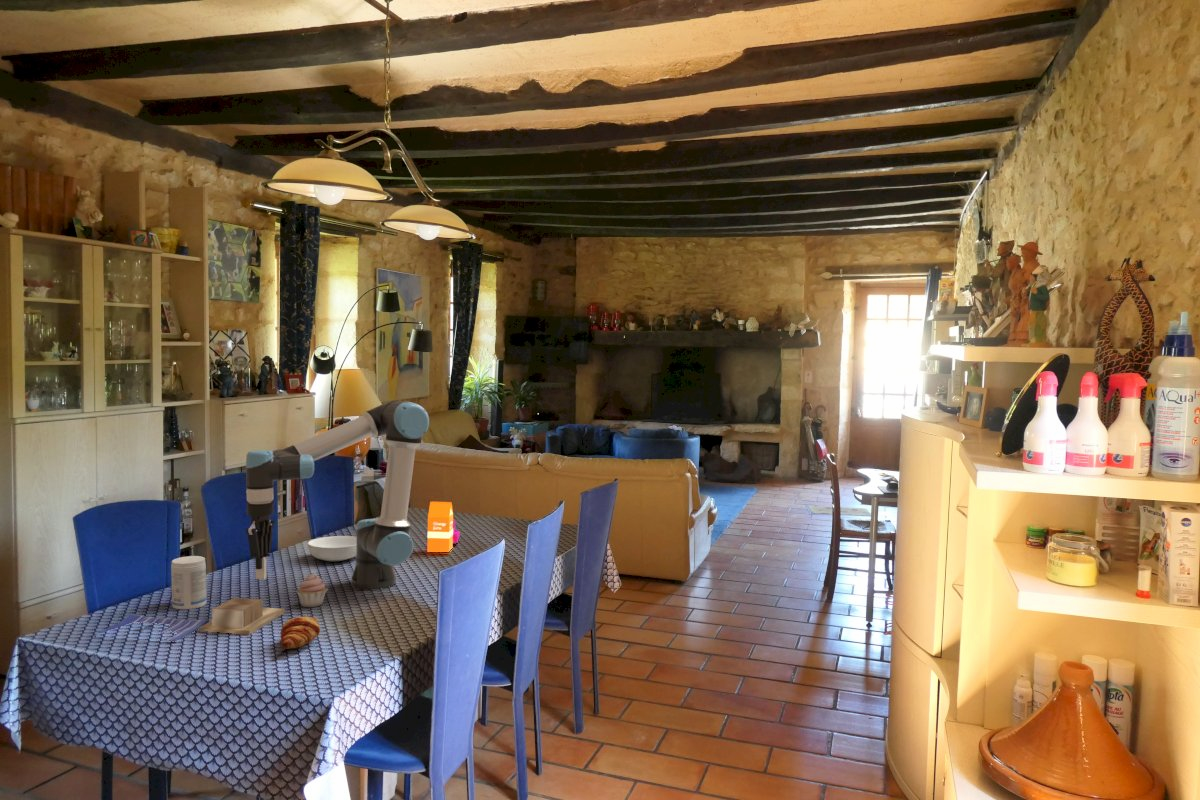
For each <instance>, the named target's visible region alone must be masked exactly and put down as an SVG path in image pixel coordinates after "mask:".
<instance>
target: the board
mask: <svg viewBox="0 0 1200 800" xmlns="http://www.w3.org/2000/svg"><path fill="white" fill-rule="evenodd" d="M285 612H286V611H285V608H276V607H275V608H273V607H263V616H262V617H260V618H259V619H257V620H255V621H254V622H252V623H250V624H249V625H247V626H246V627H244V628H225V627H212V620H210V621H208V622H207V624H205V625H203V626H201V627H199V630H198V632H199V631H208V632H207V633H211V632H220V633H219V634H226V633H232V634H231V635H242V636H245V635H247V636H250V635H252V634H254V633H255V632H257V631H258V630H260V629H261V628H263V627H265V626H266V625H268V624H269V623H271V622H273V621H274V620H276V619H277V618H279V617H280V616H282V615H283V614H285Z"/></svg>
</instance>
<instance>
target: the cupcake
mask: <svg viewBox="0 0 1200 800" xmlns="http://www.w3.org/2000/svg"><path fill="white" fill-rule="evenodd" d="M328 590H329V588H327V587H326V584H325V583H324V581H323V579H322V578H321V577H320V576H318V575H316V574H314V573H311V574H309V575H307V576H306V578H305V580H303V581H302V582H301V583H300V584H299V588H297V590H296V593H297V595H298V598H299V601H300V605H301V606H302V607H304V608H316V607H320V606H321V605H323V603H324V600H325V599H324V598H325V597H326V593H327V591H328Z"/></svg>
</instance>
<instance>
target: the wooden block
mask: <svg viewBox="0 0 1200 800" xmlns="http://www.w3.org/2000/svg"><path fill="white" fill-rule="evenodd" d="M263 601H264V599H261V598H260V599H259V598H245V597H244V598H243V597H232V598H231V599H228V600H227V601H225V602H223V603H221V604H220V605H218V606H216V607H213V608H211V621H212V627H225V628H244V627H246V626H247V625H249V624H250V623H252V622H254V621H255V620H257V619H259V618H260V617H262V616H263V608H264V607H263V604H264V603H263Z"/></svg>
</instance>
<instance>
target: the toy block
mask: <svg viewBox="0 0 1200 800" xmlns="http://www.w3.org/2000/svg"><path fill="white" fill-rule="evenodd" d="M460 534H461V532H460V531H459V530H456V519H453V543H457V542H458V539H459V537H461V535H460ZM458 543H459V542H458Z"/></svg>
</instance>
